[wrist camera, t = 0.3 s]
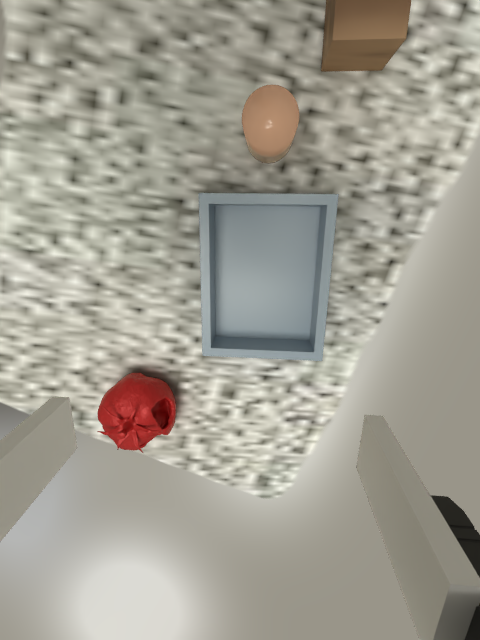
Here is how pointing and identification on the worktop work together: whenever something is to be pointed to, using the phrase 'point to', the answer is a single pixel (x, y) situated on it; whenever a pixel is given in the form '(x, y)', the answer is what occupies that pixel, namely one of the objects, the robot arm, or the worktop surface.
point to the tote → (265, 273)
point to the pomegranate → (137, 411)
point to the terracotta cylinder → (270, 122)
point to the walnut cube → (363, 33)
